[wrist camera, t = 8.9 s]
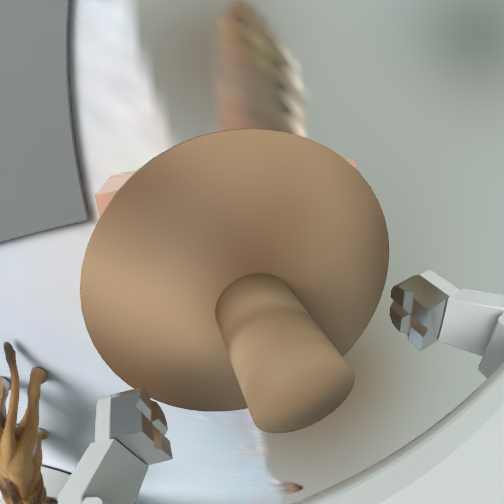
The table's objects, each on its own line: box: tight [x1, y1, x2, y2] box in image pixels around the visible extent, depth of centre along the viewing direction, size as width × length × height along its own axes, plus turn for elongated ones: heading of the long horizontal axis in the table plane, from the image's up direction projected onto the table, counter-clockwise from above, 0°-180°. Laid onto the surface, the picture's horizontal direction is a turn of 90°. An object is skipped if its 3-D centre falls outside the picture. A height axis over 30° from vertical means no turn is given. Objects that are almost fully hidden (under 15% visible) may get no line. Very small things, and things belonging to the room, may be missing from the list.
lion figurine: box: [0, 342, 58, 504], centre depth 11 cm, size 15×5×9 cm, turn 160°
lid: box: [80, 129, 389, 433], centre depth 9 cm, size 12×12×5 cm
